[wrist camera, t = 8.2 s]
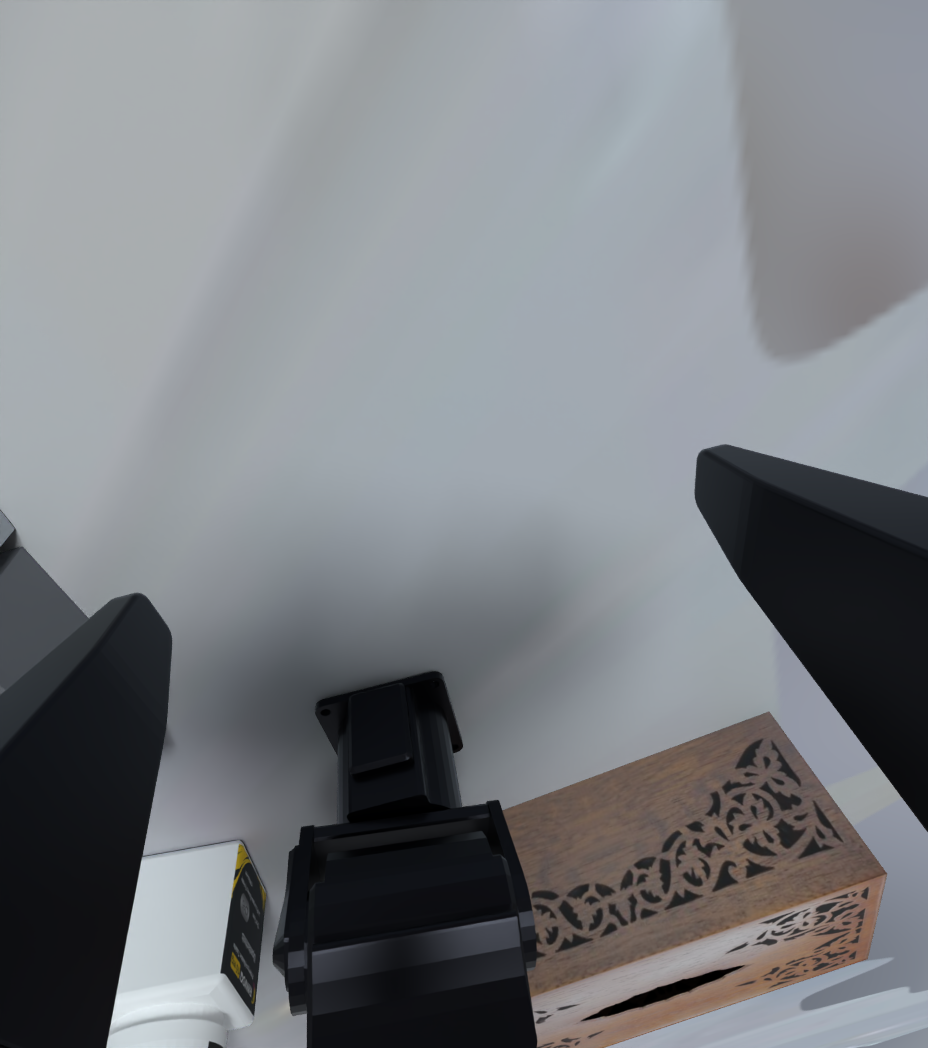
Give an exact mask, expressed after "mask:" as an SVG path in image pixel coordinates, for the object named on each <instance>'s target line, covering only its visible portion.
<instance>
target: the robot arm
mask: <svg viewBox="0 0 928 1048" xmlns="http://www.w3.org/2000/svg"><path fill="white" fill-rule="evenodd" d="M695 500H696V504H697V506H698V508H699V510H700V512H701V514H702V515H703V517H704V519H705V520H706V522H707V524H708V526H709V527H710V529H711V531H712V533H713V534H714V536H715V538H716V540H717V541H718V543H719V545H720V547H721V548H722V550H723V552H724V554H725V555H726V557H727V559H728V561H729V562H730V564H731V566H732V568H733V569H734V571H735V572H736V574H737V576H738V577H739V579H740V580H741V582H742V583H743V585H744V586H745V587H746V589H747V590H748V592H749V593H750V594H751V596H752V597H753V598H754V600H755V601H756V602H757V604H758V605H759V606H760V608H761V609H762V610H763V612H764V613H765V614H766V616H767V617H768V618H769V620H770V621H771V622H772V624H773V625H774V626H775V628H776V629H777V631H778V632H779V633H780V635H781V636H782V637H783V639H784V640H785V641H786V642H787V644H788V645H789V647H790V648H791V649H792V651H793V652H794V653H795V655H796V656H797V657H798V659H799V660H800V661H801V662H802V664H803V665H804V667H805V668H806V669H807V671H808V672H809V673H810V675H811V676H812V677H813V679H814V680H815V682H816V683H817V684H818V686H819V687H820V688H821V690H822V691H823V692H824V694H825V695H826V696H827V698H828V699H829V700H830V702H831V703H832V704H833V706H834V707H835V708H836V710H837V711H838V712H839V714H840V715H841V716H842V718H843V719H844V720H845V722H846V723H847V725H848V726H849V727H850V729H851V730H852V731H853V733H854V734H855V735H856V736H857V738H858V739H859V741H860V742H861V743H862V745H863V746H864V747H865V749H866V750H867V751H868V753H869V754H870V755H871V757H872V758H873V759H874V761H875V762H876V763H877V765H878V766H879V768H880V769H881V770H882V772H883V773H884V774H885V776H886V777H887V778H888V780H889V781H890V782H891V784H892V785H893V786H894V788H895V789H896V790H897V792H898V793H899V794H900V796H901V797H902V798H903V800H904V801H905V802H906V804H907V805H908V806H909V808H910V809H911V810H912V812H913V813H914V815H915V816H916V817H917V818H918V820H919V821H920V823H921V824H922V825H923V827H924V828H925V829H926V831H927V832H928V497H925V496H921V495H918V494H913V493H909V492H906V491H902V490H898V489H895V488H891V487H887V486H883V485H879V484H876V483H872V482H868V481H864V480H860V479H857V478H853V477H849V476H845V475H841V474H838V473H834V472H830V471H826V470H822V469H819V468H815V467H811V466H807V465H803V464H799V463H796V462H792V461H788V460H784V459H780V458H777V457H773V456H769V455H765V454H761V453H758V452H754V451H750V450H746V449H742V448H739V447H735V446H731V445H727V444H724V445H719V446H715V447H711V448H707V449H703V450H702V451H701V452H700V453H699V454H698V457H697V464H696V478H695ZM171 655H172V636H171V632H170V630H169V628H168V626H167V624H166V623H165V622H164V620H163V619H162V617H161V616H160V615H159V613H158V612H157V610H156V609H155V607H154V606H153V605H152V603H151V602H150V600H149V599H148V598H147V597H146V596H145V595H143V594H141V593H133V594H129V595H125V596H121V597H117V598H114V599H112V600H111V601H109V602H108V603H107V604H106V605H105V606H103V607H102V608H101V609H100V610H99V611H97V612H96V613H95V614H94V615H93V616H92V617H90V618H89V619H88V620H87V621H86V622H85V623H83V624H82V625H81V626H80V627H79V628H78V629H76V630H75V631H74V632H73V633H72V634H71V635H69V636H68V637H67V638H66V639H65V640H64V641H62V642H61V643H60V644H59V645H58V646H57V647H55V648H54V649H53V650H52V651H51V652H50V653H48V654H47V655H46V656H45V657H44V658H42V659H41V660H40V661H39V662H38V663H37V664H35V665H34V666H33V667H32V668H31V669H30V670H28V671H27V672H26V673H25V674H24V675H23V676H21V677H20V678H19V679H18V680H17V681H16V682H14V683H13V684H12V685H11V686H10V687H9V688H7V689H6V690H5V691H4V692H3V693H2V694H0V1048H106V1047H107V1042H108V1036H109V1031H110V1026H111V1020H112V1015H113V1010H114V1004H115V999H116V994H117V988H118V983H119V978H120V973H121V967H122V962H123V957H124V951H125V946H126V941H127V935H128V930H129V925H130V919H131V914H132V909H133V903H134V898H135V893H136V887H137V882H138V877H139V871H140V866H141V861H142V856H143V850H144V845H145V840H146V834H147V829H148V824H149V818H150V813H151V808H152V802H153V797H154V792H155V786H156V781H157V776H158V770H159V765H160V760H161V755H162V749H163V744H164V738H165V731H166V723H167V714H168V699H169V684H170V669H171ZM433 681H435V682H433ZM315 714H316V716H317V718H318V720H319V722H320V724H321V726H322V728H323V729H324V731H325V733H326V735H327V737H328V739H329V741H330V743H331V744H332V746H333V748H334V750H335V752H336V754H337V756H338V787H337V824H334V825H327V826H320V827H314V825H310V826H303V827H301V832H300V840H299V845H298V846H295V848H294V849H293V850H291V851H290V852H289V859H288V872H287V884H286V892H285V898H284V903H283V907H282V912H281V916H280V920H279V925H278V929H277V933H276V938H275V942H274V947H273V965H274V966H275V967H276V969H277V970H278V971H279V972H280V973H281V974H282V975H283V976H284V977H285V985H286V990H287V992H289V1003H290V1010H291V1014H292V1015H293V1016H295V1015H301V1014H306V1013H307V1048H537V1034H536V1029H535V1022H534V1015H533V1008H532V1002H531V995H530V988H529V982H528V975H527V971H530V970H534V968H535V967H536V961H537V943H536V931H535V923H534V916H533V910H532V904H531V899H530V895H529V890H528V886H527V883H526V879H525V876H524V873H523V870H522V867H521V864H520V861H519V858H518V855H517V852H516V849H515V846H514V843H513V840H512V837H511V835H510V832H509V829H508V826H507V823H506V820H505V817H504V814H503V811H502V808H501V805H500V802H499V800H494V801H487V803H486V804H480V805H473V806H466V807H462V802H461V796H460V790H459V785H458V779H457V773H456V768H455V762H454V756H453V753H455V752H458V751H460V750H461V749H462V748H463V742H462V738H461V734H460V731H459V728H458V724H457V721H456V718H455V714H454V711H453V708H452V704H451V701H450V698H449V695H448V691H447V688H446V685H445V681H444V678H443V675H442V674H441V673H439V672H430V673H426V674H422V675H418V676H414V677H410V678H406V679H402V680H398V681H394V682H390V683H386V684H383V685H379V686H375V687H371V688H367V689H363V690H359V691H355V692H351V693H347V694H343V695H339V696H336V697H332V698H328V699H324V700H321V701H319V702H318V703H317V704H316V708H315Z"/></svg>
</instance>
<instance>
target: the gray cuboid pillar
mask: <svg viewBox="0 0 928 1048" xmlns="http://www.w3.org/2000/svg"><path fill="white" fill-rule="evenodd" d="M88 619H89V618H88V617H87V616H86V615H85V614H84V613H83V612H82V611H81V610H80V609H79V607H78V606H77V605H76V604H75V603H74V602H73V601H72V600H71V599H70V598H69V597H68V595H67V594H66V593H65V592H64V591H63V590H62V589H61V588H60V587H59V586H58V585H57V583H56V582H55V581H54V580H53V579H52V578H51V577H50V576H49V575H48V574H47V573H46V571H45V570H44V569H43V568H42V567H41V566H40V565H39V564H38V563H37V562H36V561H35V559H34V558H33V557H32V556H31V555H30V554H29V553H28V552H27V551H26V550H25V549H24V547H20V548H16V549H13V550H10V551H7V552H3V553H0V694H2V693H3V692H4V691H5V690H6V689H7V688H9V687H10V686H11V685H12V684H13V683H14V682H16V681H17V680H18V679H19V678H20V677H21V676H23V675H24V674H25V673H26V672H27V671H28V670H30V669H31V668H32V667H33V666H34V665H35V664H37V663H38V662H39V661H40V660H41V659H42V658H44V657H45V656H46V655H47V654H48V653H50V652H51V651H52V650H53V649H54V648H55V647H57V646H58V645H59V644H60V643H61V642H62V641H64V640H65V639H66V638H67V637H68V636H69V635H71V634H72V633H73V632H74V631H75V630H76V629H78V628H79V627H80V626H81V625H82V624H83V623H85V622H86V621H87V620H88Z"/></svg>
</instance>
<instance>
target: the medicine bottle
mask: <svg viewBox="0 0 928 1048" xmlns="http://www.w3.org/2000/svg"><path fill="white" fill-rule="evenodd" d="M265 901H266V891H265V889H264V887H263V885H262V883H261V881H260V879H259V876H258V874H257V872H256V870H255V868H254V866H253V863H252V861H251V859H250V857H249V855H248V853H247V851H246V848H245V846H244V844H243V843H242V842H241V841H240V840H236V841H230V842H224V843H219V844H213V845H207V846H202V847H196V848H190V849H185V850H179V851H173V852H167V853H162V854H156V855H150V856H145V857H142V861H141V866H140V871H139V877H138V882H137V887H136V893H135V898H134V903H133V909H132V914H131V919H130V925H129V930H128V935H127V941H126V946H125V951H124V957H123V962H122V967H121V973H120V978H119V983H118V988H117V994H116V999H115V1004H114V1010H113V1015H112V1020H111V1026H110V1031H109V1036H108V1042H107V1047H106V1048H226V1044H227V1036H228V1032H227V1031H230V1030H235V1029H239V1028H244V1027H248V1026H250V1025H251V1023H252V1022H253V1019H254V1012H255V1002H256V992H257V982H258V972H259V962H260V952H261V942H262V932H263V921H264V911H265Z"/></svg>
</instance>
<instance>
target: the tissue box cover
mask: <svg viewBox="0 0 928 1048" xmlns="http://www.w3.org/2000/svg"><path fill="white" fill-rule="evenodd" d="M503 814H504V817H505V820H506V823H507V826H508V829H509V832H510V835H511V837H512V840H513V843H514V846H515V849H516V852H517V855H518V858H519V861H520V864H521V867H522V870H523V873H524V876H525V879H526V883H527V886H528V890H529V895H530V899H531V904H532V910H533V916H534V923H535V931H536V943H537V961H536V967H535V968H534V970H530V971H527V975H528V982H529V988H530V995H531V1002H532V1008H533V1015H534V1022H535V1029H536V1034H537V1048H604V1047H607V1046H610V1045H613V1044H616V1043H619V1042H622V1041H625V1040H628V1039H631V1038H634V1037H637V1036H640V1035H643V1034H646V1033H649V1032H652V1031H655V1030H658V1029H661V1028H664V1027H667V1026H670V1025H673V1024H676V1023H679V1022H682V1021H685V1020H688V1019H691V1018H694V1017H697V1016H700V1015H703V1014H705V1013H708V1012H711V1011H714V1010H717V1009H720V1008H723V1007H726V1006H729V1005H732V1004H735V1003H738V1002H741V1001H744V1000H747V999H750V998H753V997H756V996H759V995H762V994H765V993H768V992H771V991H774V990H777V989H780V988H783V987H786V986H789V985H792V984H795V983H798V982H801V981H804V980H807V979H810V978H813V977H816V976H819V975H822V974H825V973H827V972H830V971H833V970H836V969H839V968H842V967H845V966H848V965H851V964H854V963H857V962H860V961H863V960H866V959H868V955H869V951H870V946H871V942H872V938H873V933H874V929H875V925H876V920H877V916H878V912H879V907H880V903H881V899H882V894H883V890H884V885H885V881H886V877H887V873H886V872H885V870H884V869H883V867H882V866H881V865H880V863H879V862H878V861H877V859H876V858H875V856H874V855H873V854H872V852H871V851H870V850H869V848H868V847H867V845H866V844H865V843H864V841H863V840H862V839H861V837H860V836H859V834H858V833H857V832H856V830H855V829H854V828H853V826H852V825H851V823H850V822H849V821H848V819H847V818H846V817H845V815H844V814H843V812H842V811H841V810H840V808H839V807H838V806H837V804H836V803H835V801H834V800H833V799H832V797H831V796H830V795H829V793H828V792H827V790H826V789H825V788H824V786H823V785H822V784H821V782H820V781H819V780H818V778H817V777H816V776H815V774H814V773H813V771H812V770H811V768H810V767H809V766H808V764H807V763H806V762H805V760H804V759H803V758H802V756H801V755H800V753H799V752H798V751H797V749H796V748H795V746H794V745H793V744H792V742H791V741H790V740H789V738H788V737H787V735H786V734H785V733H784V731H783V730H782V729H781V727H780V726H779V724H778V723H777V722H776V720H775V719H774V718H773V716H772V715H771V713H770V712H767V713H764V714H761V715H759V716H756V717H753V718H751V719H748V720H745V721H742V722H740V723H737V724H734V725H732V726H729V727H726V728H724V729H721V730H718V731H715V732H713V733H710V734H707V735H705V736H702V737H699V738H697V739H694V740H691V741H689V742H686V743H683V744H680V745H678V746H675V747H672V748H670V749H667V750H664V751H662V752H659V753H656V754H654V755H651V756H648V757H645V758H643V759H640V760H637V761H635V762H632V763H629V764H627V765H624V766H621V767H619V768H616V769H613V770H610V771H608V772H605V773H602V774H600V775H597V776H594V777H592V778H589V779H586V780H584V781H581V782H578V783H575V784H573V785H570V786H567V787H565V788H562V789H559V790H557V791H554V792H551V793H548V794H546V795H543V796H540V797H538V798H535V799H532V800H530V801H527V802H524V803H522V804H519V805H516V806H513V807H511V808H508V809H505V810H503Z"/></svg>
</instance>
